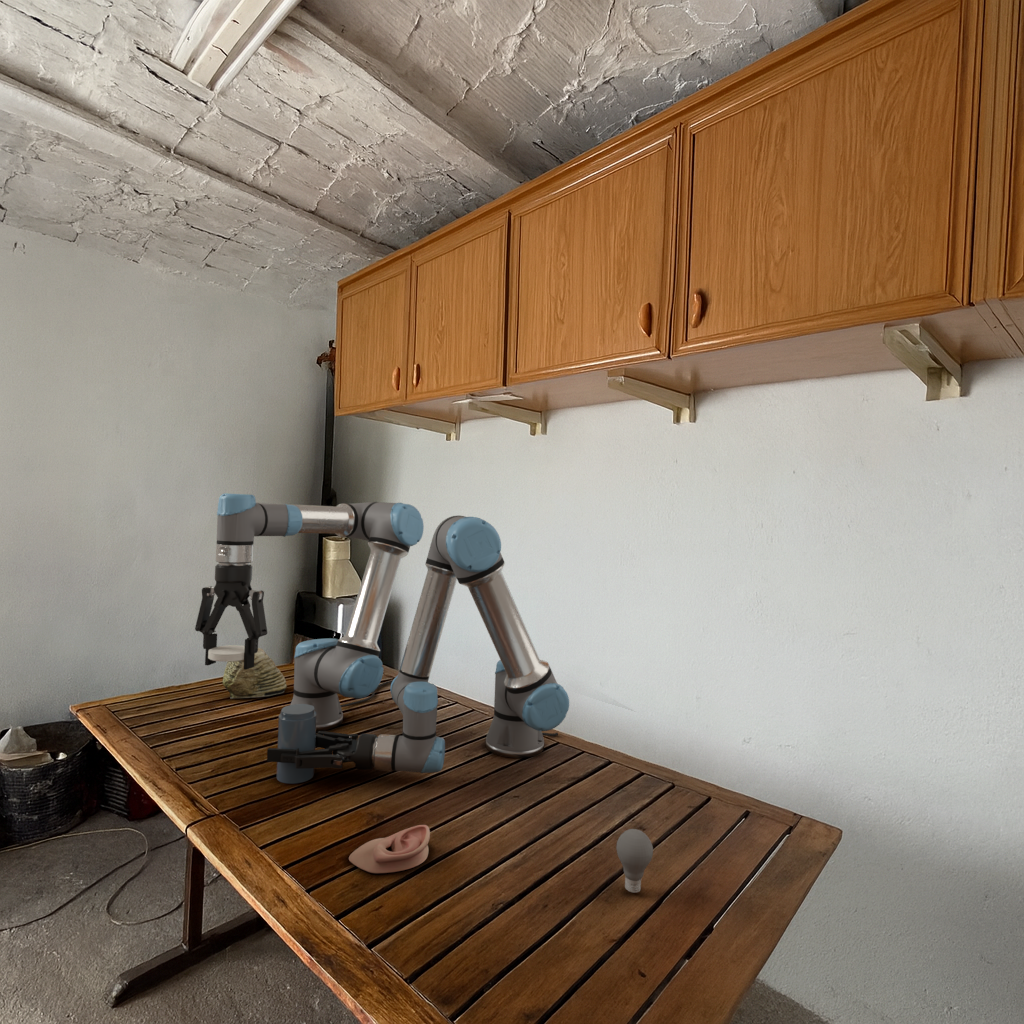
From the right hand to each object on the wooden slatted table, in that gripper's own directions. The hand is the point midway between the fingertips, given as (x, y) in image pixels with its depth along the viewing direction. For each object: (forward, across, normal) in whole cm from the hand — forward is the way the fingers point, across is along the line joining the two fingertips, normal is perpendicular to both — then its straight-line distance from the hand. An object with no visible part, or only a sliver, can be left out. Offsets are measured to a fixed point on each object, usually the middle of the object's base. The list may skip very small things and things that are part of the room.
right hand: (275, 747), depth 143 cm
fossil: (+28, +54, -6) cm, 61 cm away
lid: (+10, -4, +22) cm, 24 cm away
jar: (-5, 0, -6) cm, 8 cm away
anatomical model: (-33, -30, -6) cm, 45 cm away
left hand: (+10, -3, +19) cm, 21 cm away
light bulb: (-75, -36, -6) cm, 83 cm away
